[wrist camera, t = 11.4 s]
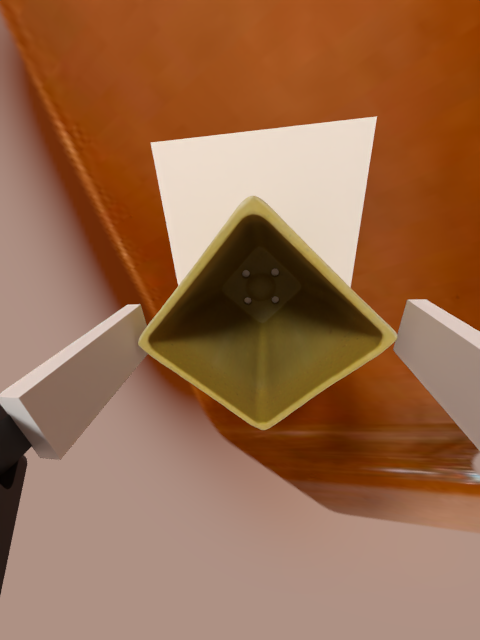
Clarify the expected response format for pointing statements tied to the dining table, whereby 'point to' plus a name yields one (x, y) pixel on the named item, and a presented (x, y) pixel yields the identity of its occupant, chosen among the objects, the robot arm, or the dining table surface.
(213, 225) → the display ledge
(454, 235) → the dining table surface
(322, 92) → the dining table surface
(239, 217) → the flower pot
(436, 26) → the dining table surface
